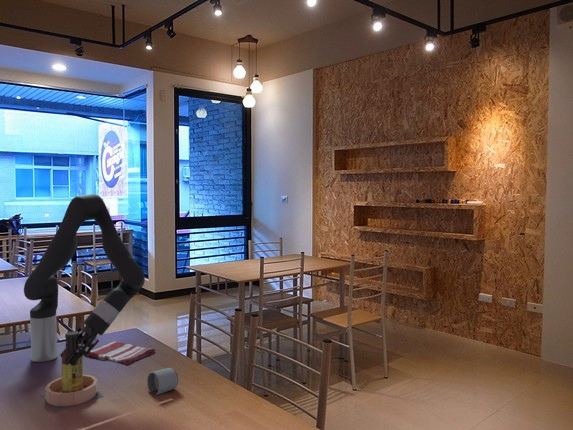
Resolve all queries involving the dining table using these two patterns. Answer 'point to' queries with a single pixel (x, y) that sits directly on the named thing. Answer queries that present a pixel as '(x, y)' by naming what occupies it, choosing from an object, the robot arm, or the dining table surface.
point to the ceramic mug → (162, 380)
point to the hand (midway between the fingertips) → (66, 360)
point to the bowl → (71, 398)
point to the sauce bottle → (71, 373)
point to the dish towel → (120, 352)
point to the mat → (71, 406)
